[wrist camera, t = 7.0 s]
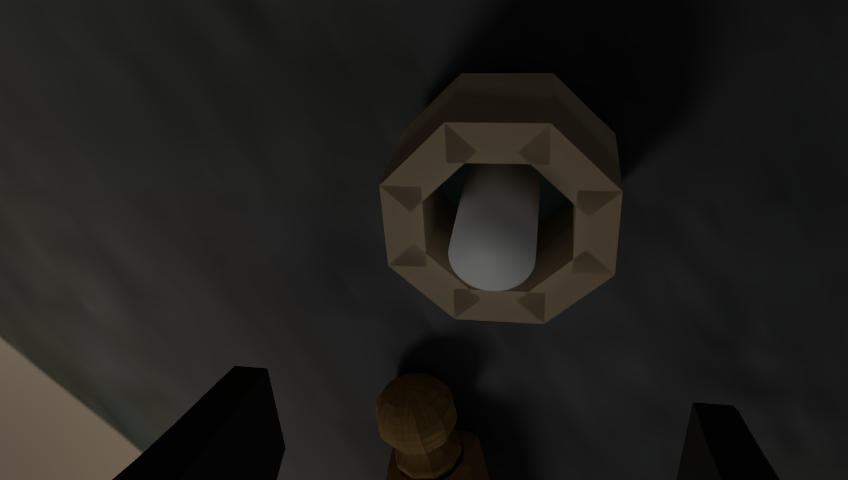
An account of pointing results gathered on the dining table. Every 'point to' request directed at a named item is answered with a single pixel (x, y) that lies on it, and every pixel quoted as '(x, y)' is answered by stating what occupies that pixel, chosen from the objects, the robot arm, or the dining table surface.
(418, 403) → the wooden baluster
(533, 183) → the toy mushroom
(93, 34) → the dining table surface
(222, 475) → the robot arm
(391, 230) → the ring
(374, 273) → the dining table surface
